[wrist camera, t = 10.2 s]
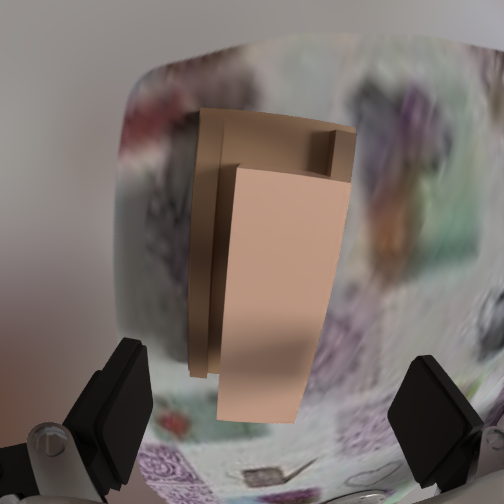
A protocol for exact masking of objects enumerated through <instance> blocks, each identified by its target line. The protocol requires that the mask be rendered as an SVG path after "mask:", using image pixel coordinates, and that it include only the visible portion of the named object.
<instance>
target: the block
mask: <svg viewBox="0 0 504 504" xmlns="http://www.w3.org/2000/svg"><path fill="white" fill-rule="evenodd" d="M351 185H352V183H349V182H345V181H342V180H339V179H335V178H332V177H328V176H325V175H321V174H317V173H314V172H309V171H302V170H295V169H288V168H280V167H272V166H264V165H255V164H245V163H241V164H240V165H239V166H238V167H237V173H236V183H235V193H234V203H233V213H232V223H231V234H230V245H229V256H228V268H227V280H226V292H225V304H224V317H223V331H222V344H221V359H220V374H219V390H218V407H217V420H225V421H238V422H255V423H294V421H295V418H296V415H297V412H298V409H299V406H300V403H301V400H302V397H303V394H304V391H305V387H306V384H307V381H308V378H309V374H310V371H311V367H312V364H313V360H314V357H315V353H316V350H317V346H318V342H319V339H320V335H321V331H322V327H323V323H324V319H325V315H326V311H327V307H328V303H329V299H330V295H331V290H332V286H333V282H334V277H335V272H336V268H337V263H338V258H339V253H340V248H341V243H342V238H343V233H344V227H345V222H346V216H347V210H348V204H349V198H350V192H351Z"/></svg>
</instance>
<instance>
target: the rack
mask: <svg viewBox="0 0 504 504" xmlns="http://www.w3.org/2000/svg"><path fill="white" fill-rule="evenodd" d="M356 136H357V134H356V133H355V128H354V127H349V126H344V125H340V124H335V123H329V122H324V121H318V120H313V119H307V118H300V117H294V116H287V115H279V114H271V113H263V112H253V111H243V110H231V109H216V108H200V116H199V125H198V134H197V144H196V155H195V167H194V179H193V193H192V208H191V225H190V246H189V276H188V370H189V371H190V377H198V378H207V373H215V374H220V359H221V344H222V331H223V317H224V304H225V292H226V280H227V268H228V256H229V245H230V234H231V223H232V213H233V203H234V193H235V183H236V173H237V167H238V166H239V165H240V164H241V163H245V164H255V165H264V166H272V167H280V168H288V169H295V170H302V171H309V172H314V173H317V174H321V175H325V176H328V177H332V178H335V179H339V180H342V181H345V182H349V183H351V177H352V169H353V162H354V154H355V145H356Z"/></svg>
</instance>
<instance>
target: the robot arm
mask: <svg viewBox="0 0 504 504" xmlns="http://www.w3.org/2000/svg"><path fill="white" fill-rule="evenodd" d="M152 409H153V398H152V390H151V383H150V374H149V366H148V356H147V347H146V346H145V345H142V343H141V341H140V340H136V339H131V338H123V339H122V340H121V342H120V343H119V345H118V346H117V348H116V349H115V351H114V352H113V354H112V356H111V357H110V359H109V360H108V362H107V363H106V365H105V367H104V368H103V370H102V371H101V370H98V371H96V372H95V373H94V374H93V376H92V377H91V379H90V380H89V382H88V384H87V385H86V387H85V388H84V390H83V391H82V393H81V394H80V396H79V398H78V399H77V401H76V402H75V404H74V406H73V407H72V409H71V410H70V412H69V414H68V415H67V417H66V419H65V420H64V422H63V424H62V425H61V424H59V423H55V422H43V423H40V424H38V425H36V426H35V427H33V428H32V429H31V430H30V432H29V433H28V436H27V443H23V444H18V445H14V446H9V447H4V448H0V504H109V502H108V500H107V498H106V496H105V495H107V494H108V493H109V490H110V488H111V489H114V490H117V491H120V488H121V485H122V484H124V485H126V484H127V483H128V480H129V477H130V474H131V471H132V468H133V465H134V462H135V459H136V456H137V453H138V450H139V447H140V444H141V441H142V438H143V435H144V433H145V430H146V427H147V424H148V421H149V418H150V415H151V412H152ZM387 416H388V420H389V422H390V425H391V427H392V429H393V431H394V433H395V435H396V438H397V440H398V442H399V444H400V446H401V449H402V451H403V453H404V455H405V458H406V460H407V462H408V465H409V467H410V469H411V472H412V474H413V476H414V479H415V481H416V482H417V483H419V484H420V486H421V488H422V489H423V488H426V487H429V486H432V485H434V484H435V483H437V489H436V492H435V494H434V497H431V498H428V499H425V500H423V501H419V502H416V503H413V504H504V430H503V429H502V428H500V427H497V426H489V427H487V428H486V429H485V430H484V431H483V432H481V430H480V429H481V428H482V427H483V425H484V422H483V421H482V420H481V418H480V417H479V415H478V414H477V413H476V411H475V410H474V409H473V407H472V406H471V405H470V403H469V402H468V401H467V399H466V398H465V397H464V395H463V394H462V393H461V391H460V390H459V389H458V387H457V386H456V385H455V384H454V382H453V381H452V380H451V378H450V377H449V376H448V375H447V373H446V372H445V371H444V370H443V368H442V367H441V366H440V365H439V363H438V362H437V361H436V360H435V358H434V357H433V356H432V355H423V356H417V357H416V358H415V360H413V361H412V362H411V364H410V366H409V369H408V371H407V373H406V375H405V377H404V380H403V382H402V384H401V386H400V388H399V390H398V392H397V394H396V396H395V398H394V400H393V402H392V404H391V406H390V408H389V410H388V414H387ZM385 500H386V494H385V492H383V491H379V490H372V491H365V492H359V493H355V494H351V495H348V496H344V497H341V498H338V499H335V500H333V501H330V502H328V503H326V504H383V503H384V502H385Z"/></svg>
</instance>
